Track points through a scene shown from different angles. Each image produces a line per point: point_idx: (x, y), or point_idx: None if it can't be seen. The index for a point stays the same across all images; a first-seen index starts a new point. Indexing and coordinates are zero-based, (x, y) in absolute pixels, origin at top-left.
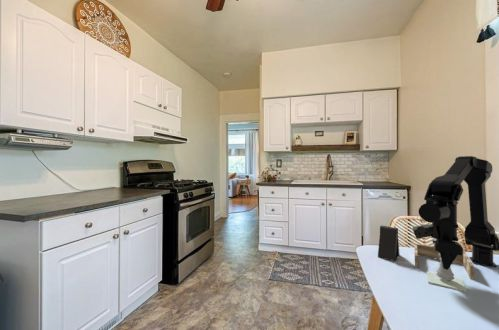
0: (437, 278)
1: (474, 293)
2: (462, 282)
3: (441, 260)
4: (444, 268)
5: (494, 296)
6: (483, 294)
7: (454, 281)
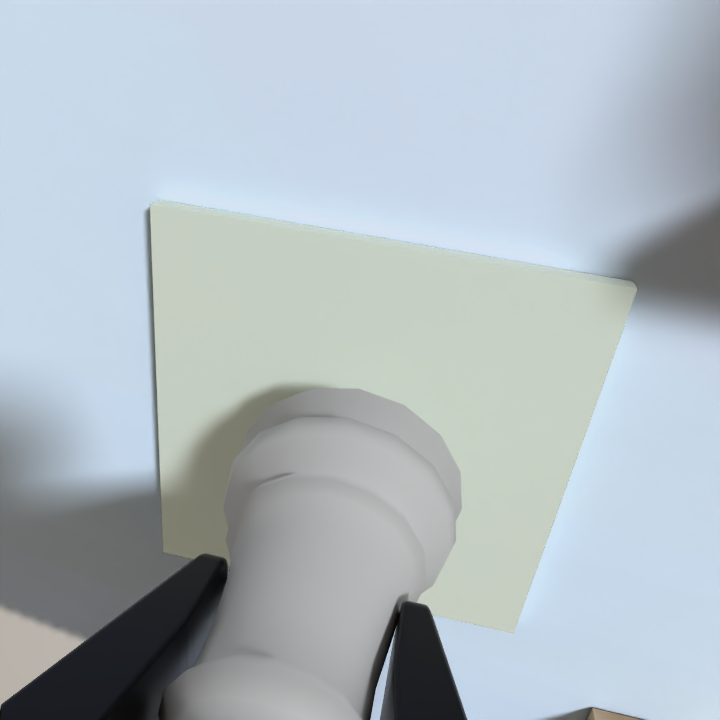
0: (369, 369)
1: None
2: None
3: (186, 672)
4: (200, 565)
5: None
6: None
7: None
